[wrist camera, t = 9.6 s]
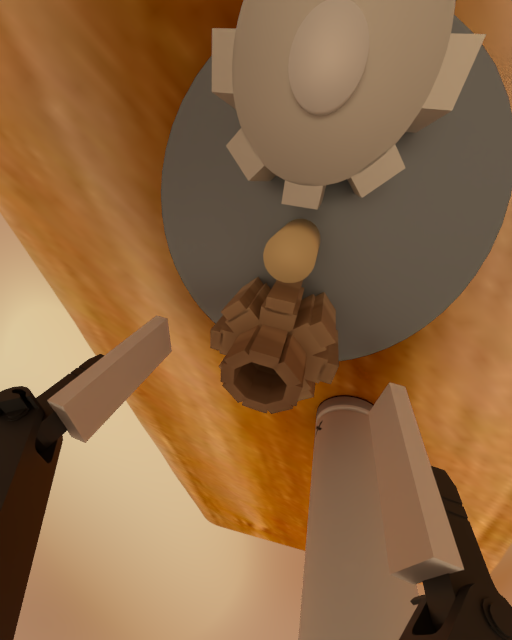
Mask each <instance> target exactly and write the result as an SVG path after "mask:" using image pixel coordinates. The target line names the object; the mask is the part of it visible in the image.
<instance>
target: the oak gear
mask: <svg viewBox="0 0 512 640" xmlns="http://www.w3.org/2000/svg"><path fill="white" fill-rule="evenodd" d="M302 282H303V280H301V281H299V282H295V283H284V282H281V281H278V280H276V282H275V284H274V285H273V287H272V289H270V287H269V286H268V285H267V283H265V284H263V283H262V281H261V280H260V279H259V277H257V278H255V279H254V280H252V281H251V282H249V283H248V284H246V285H245V286H243V287H242V288H241V289H240V290H239V292H238V293H237V294H236V295H235V296H234V297H233V298H232V299H231V301H230V302H229V303H228V304H227V305H226V306H225V307H224V309H223V310H222V311H221V313H222V314H223V316H222V317H221V318H220V319H219V320H218V322H217V323H216V324H215V325H214V326H213V328H212V329H211V348H213V349H216V350H219V351H220V353H221V354H224V355H226V356H225V358H224V359H223V361H222V362H221V364H220V365H219V368H220V369H221V382H223V387H224V388H225V389H226V390H227V391H228V392H229V393H230V394H231V395H232V396H233V397H234V399H235V400H236V401H237V402H238V403H239V402H242V401H243V403H242V405H243V406H246V407H249V408H252V409H255V410H258V411H261V412H263V413H267V410H268V411H269V412H270V413H271V414H272V413H277V412H281V411H285V410H289V409H293V406H296V405H297V402H298V401H300V400H303V399H307V398H311V397H314V390H315V382H316V383H319V381H322V382H325V383H329V384H331V382H332V380H333V378H334V376H335V373H336V371H337V369H338V367H339V356H338V330H336V310H335V308H334V306H333V305H332V303H331V302H330V300H329V299H328V297H327V295H326V294H325V292H323V293H321V294H319V295H317V296H315V295H314V294H312V295H310V296H308V297H306V298H304V299H303V300H302V296H303V292H304V288H303V287H301V286H302Z"/></svg>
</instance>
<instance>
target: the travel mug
mask: <svg viewBox="0 0 512 640" xmlns="http://www.w3.org/2000/svg"><path fill="white" fill-rule="evenodd" d="M372 407H373V405H372V404H370V403H368V402H366V401H364V400H361V399H359V398H354V397H346V396H343V397H334V398H331V399H328V400H326V401H324V402H323V403H322V404H321V405H320V406H319V408H318V410H317V416H316V428H315V441H314V453H313V466H312V478H311V490H310V503H309V515H308V528H307V540H306V552H305V565H304V577H303V590H302V602H301V603H302V604H301V614H300V615H301V616H300V628H299V640H399V638H400V637H401V635H402V633H403V631H404V629H405V628H406V626H407V624H408V622H409V620H410V618H411V617H412V615H413V613H414V611H415V609H416V608H417V606H418V604H417V605H413V604H412V603H411V602H410V600H412V599H413V598H414V597H417V596H419V595H418V590H417V586H416V584H414V585H413V584H411V583H408V582H406V581H404V580H402V579H399V578H397V577H395V576H392V575H390V572H389V564H388V557H387V549H386V542H385V534H384V527H383V519H382V512H381V504H380V497H379V489H378V481H377V474H376V466H375V459H374V451H373V444H372V436H371V429H370V421H369V414H368V413H369V412H370V410H371V409H372Z"/></svg>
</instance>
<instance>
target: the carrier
mask: <svg viewBox="0 0 512 640" xmlns="http://www.w3.org/2000/svg"><path fill="white" fill-rule="evenodd" d="M455 1H456V0H243V3H242V7H241V11H240V15H239V18H238V22H237V27H236V29H230V28H212V56H211V57H210V58H209V60H208V61H207V62H206V64H205V65H204V66H203V68H202V69H201V70H200V72H199V73H198V75H197V76H196V77H195V79H194V81H193V83H192V85H191V86H190V88H189V90H188V92H187V94H186V95H185V97H184V99H183V101H182V103H181V106H180V108H179V111H178V113H177V116H176V118H175V121H174V123H173V125H172V129H171V133H170V136H169V140H168V143H167V147H166V152H165V158H164V164H163V170H162V186H161V202H162V217H163V223H164V230H165V235H166V239H167V243H168V246H169V250H170V253H171V256H172V259H173V261H174V264H175V267H176V269H177V271H178V273H179V275H180V277H181V279H182V281H183V283H184V285H185V286H186V288H187V290H188V291H189V293H190V294H191V296H192V297H193V299H194V300H195V301H196V303H197V304H198V305H199V307H200V308H201V309H202V310H203V311H204V312H205V313H206V315H207V316H208V317H209V318H210V319H211V320H212V321H213V322H214V323H217V322H218V320H219V319H220V318H221V317H222V316H223V314H222V313H221V311H222V310H223V309H224V307H225V306H226V305H227V304H228V303H229V302H230V301H231V299H232V298H233V297H234V296H235V295H236V294H237V293H238V292H239V290H240V289H241V288H242V287H243V286H245V285H246V284H248V283H249V282H251V281H252V280H254V279H255V278H257V277H259V279H260V280H261V281H262V283H263V284H265V283H267V285H268V286H269V287H270V289H272V287H273V285H274V284H275V282H276V280H278V281H281V282H284V283H295V282H299V281H301V280H303V282H302V286H301V287H303V288H304V292H303V296H302V300H303V299H304V298H306V297H308V296H310V295H312V294H314V295H315V296H317V295H319V294H321V293H323V292H325V294H326V295H327V297H328V299H329V300H330V302H331V303H332V305H333V306H334V308H335V310H336V330H338V356H339V361H343V360H349V359H355V358H358V357H362V356H366V355H370V354H373V353H375V352H378V351H380V350H383V349H386V348H388V347H390V346H392V345H394V344H396V343H398V342H400V341H402V340H404V339H406V338H408V337H410V336H411V335H413V334H414V333H416V332H417V331H419V330H420V329H422V328H424V327H425V326H426V325H428V324H429V323H430V322H431V321H432V320H434V319H435V318H436V317H437V316H439V315H440V314H441V313H442V312H443V311H444V310H445V309H446V308H447V307H448V306H449V305H450V304H451V303H452V302H453V301H454V300H455V299H456V298H457V297H458V296H459V295H460V294H461V293H462V292H463V290H464V289H465V288H466V287H467V285H468V284H469V283H470V281H471V280H472V279H473V278H474V276H475V275H476V274H477V272H478V270H479V269H480V267H481V265H482V264H483V262H484V260H485V259H486V257H487V256H488V254H489V252H490V250H491V248H492V246H493V244H494V241H495V239H496V237H497V235H498V233H499V230H500V228H501V226H502V223H503V220H504V216H505V213H506V210H507V206H508V203H509V199H510V196H511V190H512V113H511V108H510V103H509V98H508V95H507V92H506V90H505V87H504V85H503V82H502V80H501V77H500V75H499V72H498V70H497V67H496V65H495V63H494V62H493V60H492V59H491V57H490V56H489V54H488V53H487V51H486V50H485V48H484V47H483V45H482V43H483V40H484V38H485V36H486V34H474V33H473V32H472V31H471V30H470V29H469V28H468V27H467V26H465V25H464V24H463V23H462V22H461V21H460V20H459V19H458V18H457V17H456V16H455V15H454V10H455Z"/></svg>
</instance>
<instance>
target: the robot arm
mask: <svg viewBox="0 0 512 640" xmlns="http://www.w3.org/2000/svg"><path fill="white" fill-rule="evenodd" d="M171 351H172V350H171V343H170V335H169V328H168V321H167V318H163V317H160V316H155V317H154V318H153V319H151V320H150V321H149V322H148V323H146V324H145V325H144V326H142V327H141V328H140V329H138V330H137V331H136V332H135V333H133V334H132V335H131V336H129V337H128V338H127V339H126V340H124V341H123V342H122V343H120V344H119V345H118V346H117V347H115V348H114V349H113V350H111V351H110V352H109V353H107V354H106V355H102V354H99V355H97V356H95V357H93V358H90V359H88V360H87V361H86V362H84V363H83V364H82V365H80V366H79V368H76V369H75V370H74V371H72V372H71V374H68V375H67V376H66V377H64V378H63V379H61V380H60V381H59V382H57V383H56V384H55V385H53V386H52V387H51V388H49V389H48V390H47V391H45V392H44V393H43V394H41V395H40V396H38V397H37V398H35V397H34V395H33V394H32V393H31V391H30V390H29V389H28V388H27V387H23V386H20V387H12V388H9V389H6V390H4V391H1V392H0V640H13V639H14V634H15V631H16V626H17V622H18V618H19V614H20V610H21V606H22V602H23V598H24V594H25V590H26V586H27V582H28V578H29V574H30V570H31V566H32V562H33V558H34V554H35V550H36V546H37V542H38V538H39V534H40V530H41V526H42V521H43V517H44V514H45V510H46V505H47V501H48V498H49V494H50V490H51V486H52V482H53V477H54V474H55V469H56V465H57V461H58V457H59V453H60V449H61V445H62V441H63V436H62V435H63V434H64V433H65V432H66V431H68V432H69V433H70V435H71V436H72V437H73V438H75V439H78V440H80V441H82V442H85V443H86V441H88V439H89V438H90V437H91V436H92V435H93V434H94V433H95V432H96V431H97V430H98V429H99V428H100V427H101V426H102V425H103V423H105V421H106V420H107V419H108V418H109V417H110V416H111V415H112V414H113V413H114V412H115V411H116V410H117V409H118V408H119V407H120V406H121V404H122V403H123V402H124V401H125V400H126V399H127V398H128V397H129V396H130V395H131V394H132V393H133V392H134V391H135V390H136V389H137V387H138V386H139V385H140V384H141V383H142V382H143V381H144V380H145V379H146V378H147V377H148V376H149V375H150V374H151V373H152V372H153V370H154V369H155V368H156V367H157V366H158V365H159V364H160V363H161V362H162V361H163V360H164V359H165V358H166V357H167V356H168V355H169V353H170V352H171ZM368 414H369V421H370V429H371V436H372V444H373V451H374V459H375V466H376V474H377V481H378V489H379V497H380V504H381V512H382V519H383V527H384V534H385V542H386V549H387V557H388V564H389V572H390V575H392V576H395V577H397V578H399V579H402V580H404V581H406V582H408V583H411V584H413V585H414V584H417V583H421V582H423V585H424V590H425V595H421V596H417V597H414V598H413V599H412V600H410V602H411V603H412V604H413V605H417V604H418V606H417V608H416V609H415V611H414V613H413V615H412V617H411V618H410V620H409V622H408V624H407V626H406V628H405V629H404V631H403V633H402V635H401V637H400V638H399V640H512V607H511V605H510V604H509V603H508V602H507V600H506V599H505V598H503V596H501V595H500V594H499V593H498V591H497V589H496V588H495V586H494V584H493V581H492V579H491V577H490V574H489V572H488V569H487V567H486V564H485V561H484V559H483V556H482V554H481V551H480V548H479V546H478V543H477V540H476V538H475V535H474V533H473V530H472V527H471V525H470V522H469V521H468V520H467V518H468V517H467V514H466V512H465V509H464V507H463V506H462V501H461V499H460V496H459V494H458V491H457V488H456V486H455V485H454V483H453V482H452V480H451V479H450V477H449V476H448V474H447V473H446V472H445V470H442V469H439V468H436V467H433V466H431V465H430V462H429V459H428V456H427V453H426V450H425V447H424V444H423V441H422V437H421V434H420V431H419V428H418V425H417V422H416V419H415V416H414V413H413V410H412V407H411V403H410V400H409V397H408V394H407V391H406V388H405V387H404V386H400V385H397V384H393V383H390V382H389V384H388V385H387V387H386V388H385V390H384V391H383V392H382V394H381V395H380V397H379V398H378V400H377V401H376V403H375V404H374V406H373V407H372V409H371V410H370V412H369V413H368Z"/></svg>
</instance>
